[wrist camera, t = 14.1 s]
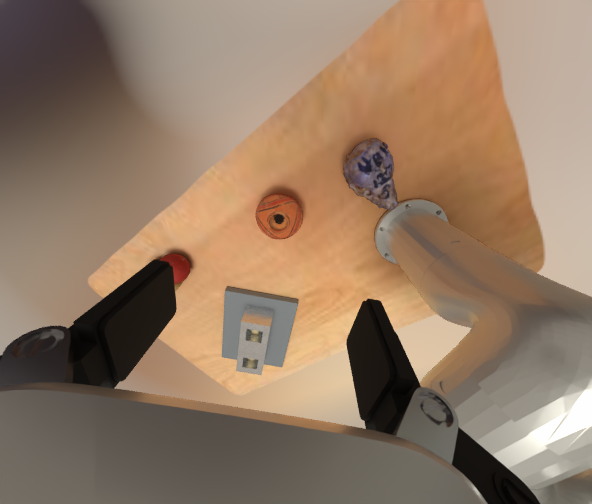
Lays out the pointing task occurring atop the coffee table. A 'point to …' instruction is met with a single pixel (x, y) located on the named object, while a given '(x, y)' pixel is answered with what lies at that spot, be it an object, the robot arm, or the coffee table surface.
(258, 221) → the pot
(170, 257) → the kendama
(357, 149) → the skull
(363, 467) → the robot arm
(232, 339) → the pin board
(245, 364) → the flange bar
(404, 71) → the coffee table surface
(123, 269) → the coffee table surface
